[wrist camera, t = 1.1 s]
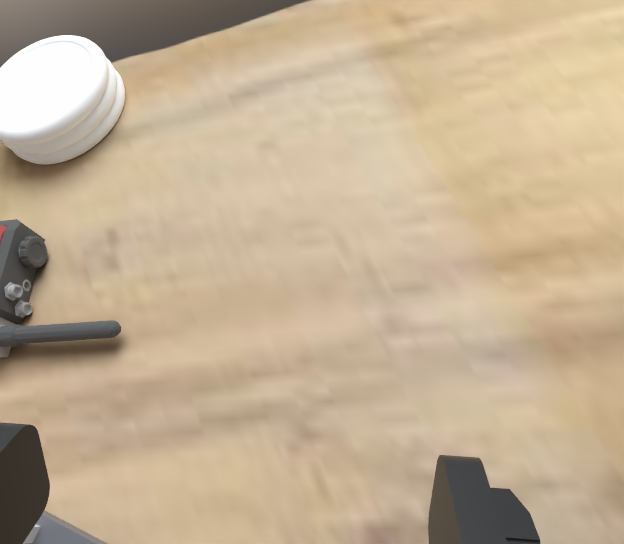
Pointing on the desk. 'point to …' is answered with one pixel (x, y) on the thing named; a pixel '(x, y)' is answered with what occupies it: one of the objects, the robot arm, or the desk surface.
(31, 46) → the white round container
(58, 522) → the charging dock
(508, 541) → the robot arm
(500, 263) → the desk surface
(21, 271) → the walkie-talkie
